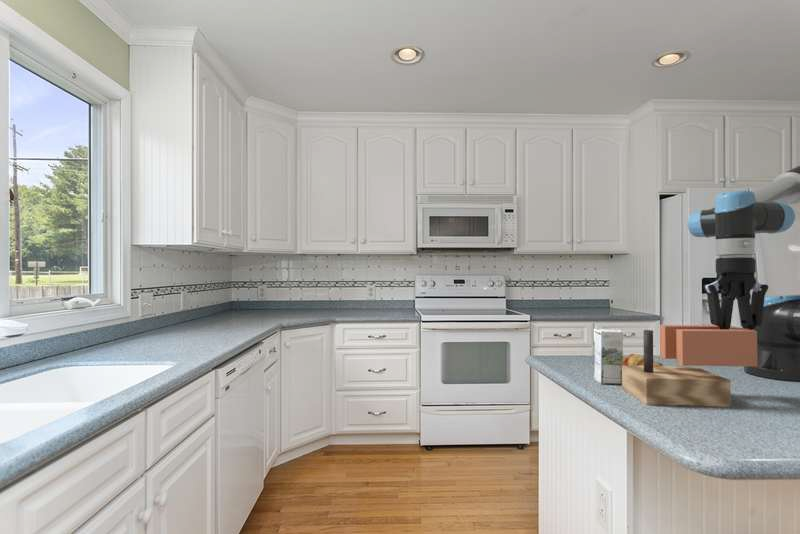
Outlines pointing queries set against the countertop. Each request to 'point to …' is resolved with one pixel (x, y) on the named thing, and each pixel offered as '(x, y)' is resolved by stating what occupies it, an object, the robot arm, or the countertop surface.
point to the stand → (674, 383)
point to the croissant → (636, 361)
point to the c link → (708, 345)
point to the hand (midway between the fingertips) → (736, 355)
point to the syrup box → (608, 355)
